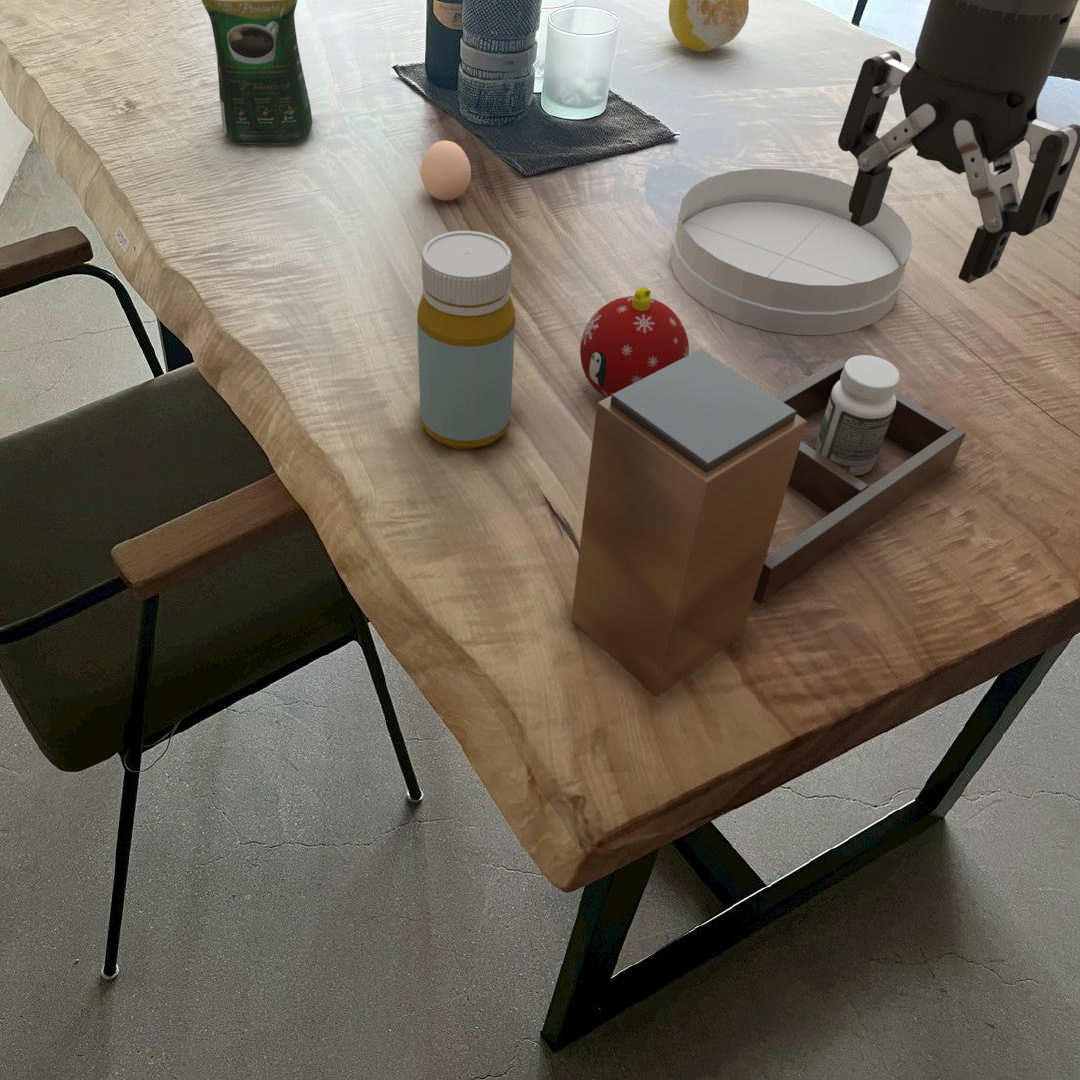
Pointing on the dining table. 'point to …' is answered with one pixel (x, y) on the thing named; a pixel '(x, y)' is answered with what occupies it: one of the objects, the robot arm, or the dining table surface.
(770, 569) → the rack
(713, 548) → the riser
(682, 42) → the fruit
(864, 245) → the dish
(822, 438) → the pill bottle
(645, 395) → the coaster
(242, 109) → the coffee jar
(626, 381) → the christmas ornament
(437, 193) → the egg
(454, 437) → the bottle
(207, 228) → the dining table surface
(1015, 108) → the robot arm
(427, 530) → the dining table surface
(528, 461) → the dining table surface
